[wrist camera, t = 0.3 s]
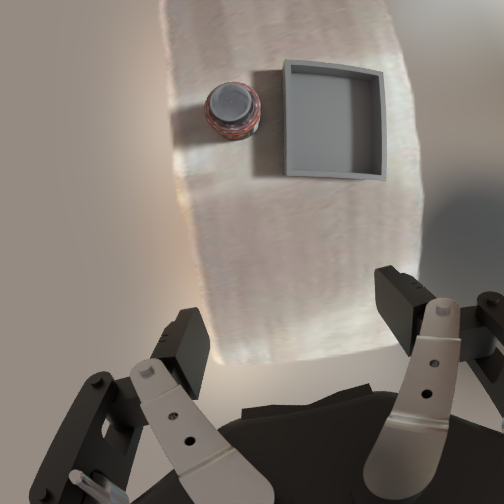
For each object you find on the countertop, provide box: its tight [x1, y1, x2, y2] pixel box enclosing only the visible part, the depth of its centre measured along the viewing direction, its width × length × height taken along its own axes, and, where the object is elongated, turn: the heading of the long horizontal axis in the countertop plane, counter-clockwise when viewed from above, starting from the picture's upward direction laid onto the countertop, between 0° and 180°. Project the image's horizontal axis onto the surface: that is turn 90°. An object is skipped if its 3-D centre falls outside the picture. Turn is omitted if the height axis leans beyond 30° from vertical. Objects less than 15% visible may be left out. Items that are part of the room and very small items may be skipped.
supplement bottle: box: [205, 82, 261, 140], centre depth 28 cm, size 6×6×11 cm
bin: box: [282, 60, 387, 181], centre depth 32 cm, size 15×13×4 cm
